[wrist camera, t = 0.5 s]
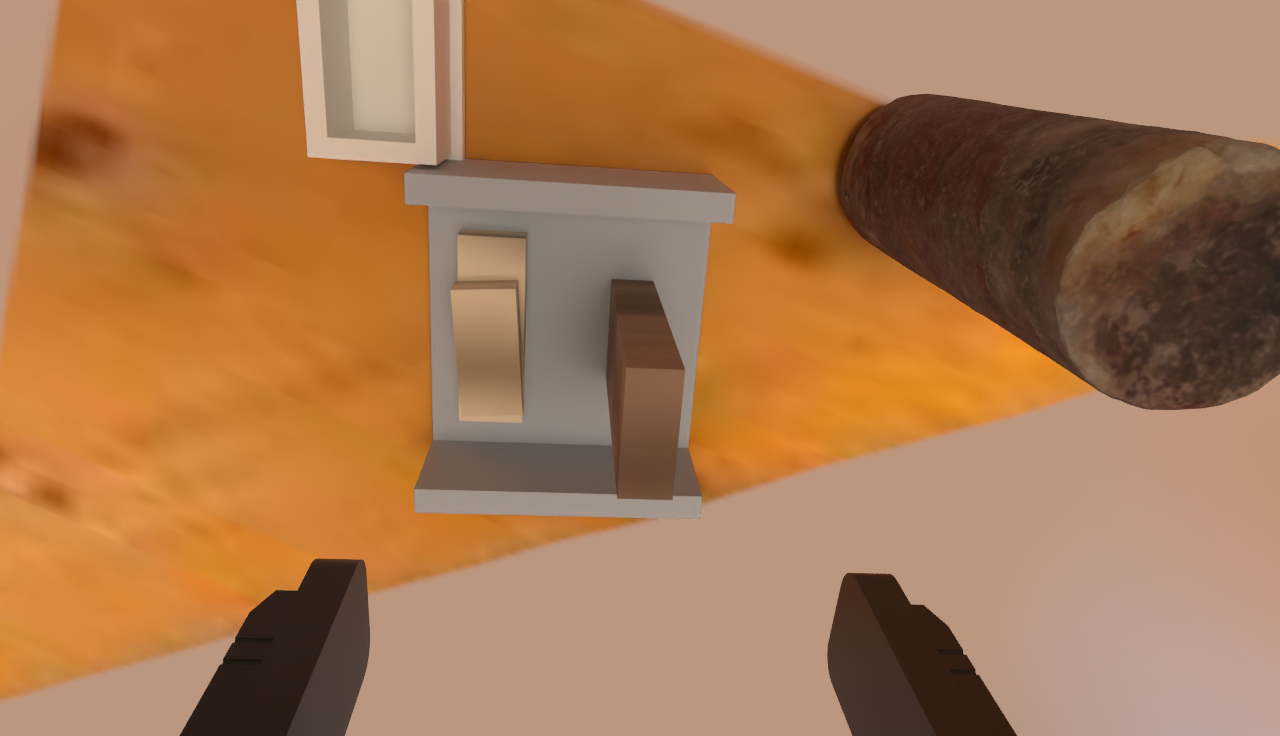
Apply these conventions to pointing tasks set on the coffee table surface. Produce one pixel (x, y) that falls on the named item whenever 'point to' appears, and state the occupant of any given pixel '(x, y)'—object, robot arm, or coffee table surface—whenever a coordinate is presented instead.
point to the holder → (383, 79)
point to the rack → (562, 327)
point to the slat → (643, 392)
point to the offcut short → (488, 347)
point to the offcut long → (495, 278)
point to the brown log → (1085, 239)
